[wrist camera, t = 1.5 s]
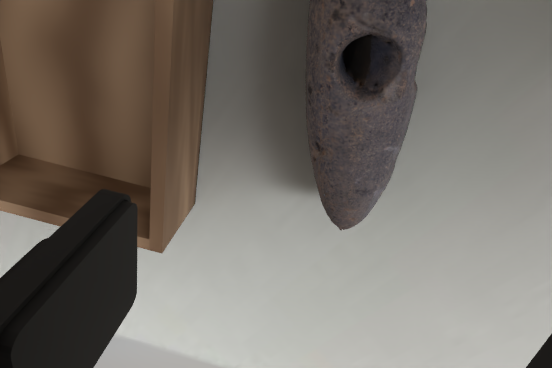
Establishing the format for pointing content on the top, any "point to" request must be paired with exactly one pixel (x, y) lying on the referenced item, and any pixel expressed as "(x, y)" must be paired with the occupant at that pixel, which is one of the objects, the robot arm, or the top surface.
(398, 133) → the perforated stone tool
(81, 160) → the box
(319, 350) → the top surface
